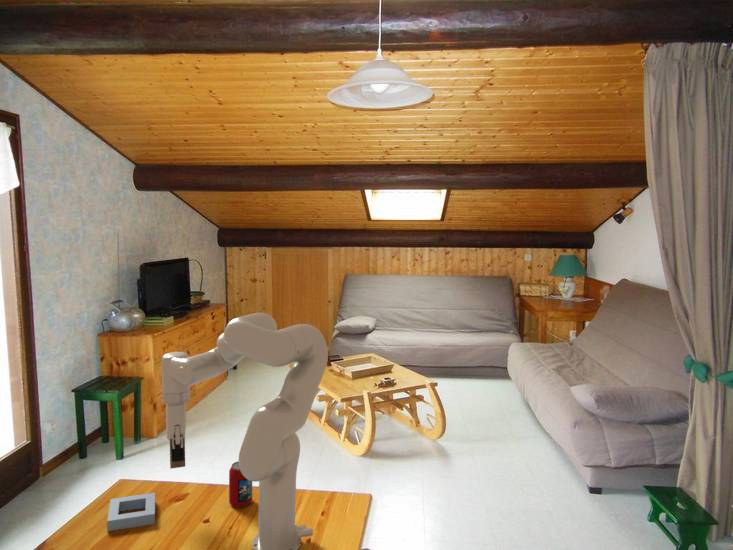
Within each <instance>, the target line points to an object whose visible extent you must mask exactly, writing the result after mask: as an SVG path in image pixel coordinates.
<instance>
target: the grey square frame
mask: <svg viewBox="0 0 733 550" xmlns="http://www.w3.org/2000/svg"><path fill="white" fill-rule="evenodd" d="M134 509H135V510H138V511H134ZM140 509H145V510H142V511H141V510H140ZM126 510H128V511H133V512H127V511H126ZM139 510H140V511H139ZM120 511H121V512H127V513H121V512H120ZM119 513H120V514H119ZM106 519H107V520H106V531H108V532H113V530H114V531H119V530H118V529H121V530H125V529H126V528H127V529H131V528H137V527H138V528H139V527H145V526H152V525H155V524H156V493H155V492H151V493H149V492H148V493H143V494H135V495H130V496H123V497H122V496H121V497H115V498H110V501H109V508H108V514H107V517H106Z"/></svg>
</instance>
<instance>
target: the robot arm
mask: <svg viewBox="0 0 733 550" xmlns="http://www.w3.org/2000/svg"><path fill="white" fill-rule="evenodd" d="M328 353H329V352H328V345H327V342H326V338H325V337H324V335H323V333H322V332H321V331H320V330H319V329H318V328H317V327H316V326H314V325H312V324H309V323H308V324H307V323H300V324H299V323H298V324H293V325H290V326H286V327H284V328H281V329H278V324H277V322H276V319H275V318H274V317H273V316H272V315H270V314H268V313H265V312H254V313H250V314H246V315H242V316H238V317H234V318H233V319H231V320H230V321H229V322H228V323H227V324H226V326H225V328H224V332H223V333H221V334H220V335H219V336H218V337H217V340H216V347H214V348H213V349H211V350H209V351H206V352H201V353H199V354H196V355H193V356H189V354H188V353H187V352H185V351H171V352H167V353H165V354H163V355H162V357H161V363H160V364H161V397H162V398H161V401H162V404H163V405H165V423H166V424H165V425H166V430H165V431H166V439H167V440H168V441H170V439H172V445H173V448H172V462H177V461H183V460H184V446H183V438H184V437H185V438H186V429H187V428H186V426H187V425H186V424H187V403H189V402H190V401H191V386H194V385H198V384H199V383H200V384H201V383H203V382H205V381H208V380H211V379H213V378H216V377H218V376H220V375H222V374H223V373H225V372H226V371H229V370H230V369H232V368H233V367H235V366H236V365H237V364H238V363H240V361H241V360H243V359H245V358H247V359H251V360H253V361H256V362H258V363H260V364H263V365H266V366H270V367H272V368H274V367H275V368H281V367H285V366H287V365H290V364H292V363H293V364H292V366H291V368H290V369H289V371H288V373H287V374H286V376H285V377H284V378H285V379H284V381H283V384H282V388H281V389H280V392H279V394H278V396H277V397H276V398H274V399H273V400H271V401H269V402H267V403H265V404H263V405H262V406H260V407H259V408H258V409H256V411H254V413H253V415H252V417H251V419H250V421H249V424H248V426H247V430H246V433H245V435H244V437H243V441H242V444H241V447H240V450H239V452H238V461H239V468H240V471H241V473H242V474H243V476H244V477H245V478H246V479H248V480H250V481H252V482H257V483H258V526H257V527H258V531H257V532H258V533H257V534H256V535H255V536H254V538H253V540H252V541H251V548H252V550H297V549H298V548H299V546H300V547H301V544H300V543H302V542H301V539H302V538H305V537H310V536H311V537H312V536H314V532H313V527H307V526H306V524H302V525H301V524H300V525H296V503H297V502H296V498H297V497H296V495H297V471H298V466H299V461H300V454H301V442H300V438H299V436H298V435H297V432H299V431H300V430H301V429H302V428H303V427H304V426H305V424H306V422H307V419H308V417H309V414H310V412H311V408H312V406H313V403H314V401H315V398H316V395H317V392H318V389H319V388H320V384H321V381H322V379H323V376H324V375H325V371H326V369H327V364H328V357H329V356H328V355H329V354H328ZM180 435H181V436H180ZM174 436H175V437H174ZM180 439H181V441H180ZM174 440H175V442H174ZM299 549H300V548H299ZM299 549H298V550H299Z"/></svg>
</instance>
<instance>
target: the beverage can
mask: <svg viewBox="0 0 733 550" xmlns="http://www.w3.org/2000/svg"><path fill="white" fill-rule="evenodd" d="M228 473H229V474H228V497H229V498H228V502H229V504H230V505H231V506H232V507H235V508H244V507H246V505H247V506H248V505H249V504H251V503H252V501H253V481H250V480H248V479H246V478H245V477H244V476H243V474H242V473H241V471H240V468H239V460H238V461H235V462H233V463H232V464H231V467H230V469H229V470H228Z"/></svg>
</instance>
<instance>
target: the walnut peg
mask: <svg viewBox="0 0 733 550" xmlns="http://www.w3.org/2000/svg"><path fill="white" fill-rule="evenodd" d="M180 436H181V435H180ZM174 437H175V436H174ZM180 441H181V439H180ZM174 442H175V440H174ZM183 446H184V460H183V461H177V462H172V448H173V445H172V439H169V463H170V464H169V465H170V467H169V468H170V469H178V468H184V467H186V436H185V437H184V438H183Z"/></svg>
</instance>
